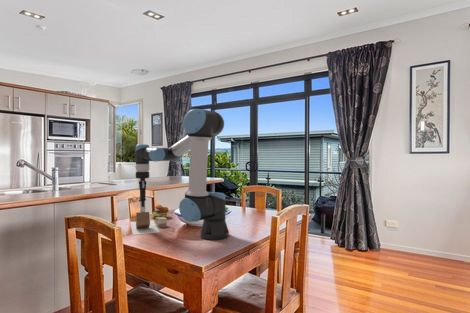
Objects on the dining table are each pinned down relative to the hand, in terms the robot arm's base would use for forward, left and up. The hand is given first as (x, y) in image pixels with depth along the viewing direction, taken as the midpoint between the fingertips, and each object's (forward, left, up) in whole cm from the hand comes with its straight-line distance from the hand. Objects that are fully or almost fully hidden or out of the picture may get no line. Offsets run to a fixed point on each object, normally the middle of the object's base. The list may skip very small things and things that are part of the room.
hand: (142, 212), depth 172 cm
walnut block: (+1, 0, -1) cm, 2 cm away
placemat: (+4, -1, -10) cm, 11 cm away
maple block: (+2, -10, -10) cm, 14 cm away
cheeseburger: (+26, -13, -10) cm, 31 cm away
